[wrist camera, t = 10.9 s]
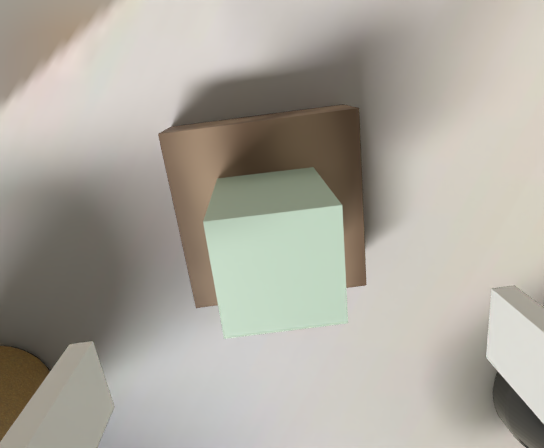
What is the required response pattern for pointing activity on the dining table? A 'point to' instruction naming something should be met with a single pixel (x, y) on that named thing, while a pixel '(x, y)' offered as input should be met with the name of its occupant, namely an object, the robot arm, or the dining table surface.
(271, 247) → the sage block
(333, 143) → the walnut plinth
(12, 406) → the plant pot
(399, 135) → the dining table surface
